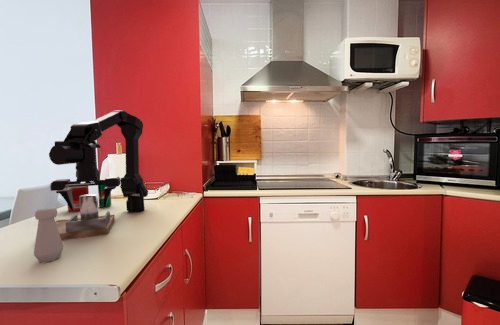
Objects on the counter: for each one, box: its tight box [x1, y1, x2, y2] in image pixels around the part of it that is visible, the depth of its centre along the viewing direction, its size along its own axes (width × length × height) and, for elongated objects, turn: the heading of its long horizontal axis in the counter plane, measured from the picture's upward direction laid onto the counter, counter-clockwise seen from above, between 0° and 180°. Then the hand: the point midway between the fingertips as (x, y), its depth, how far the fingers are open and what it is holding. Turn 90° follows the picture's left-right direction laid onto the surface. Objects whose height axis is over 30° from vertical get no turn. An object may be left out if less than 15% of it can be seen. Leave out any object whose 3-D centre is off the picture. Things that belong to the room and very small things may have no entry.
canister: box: [79, 193, 100, 220], centre depth 83 cm, size 5×5×10 cm
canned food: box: [67, 186, 90, 213], centre depth 110 cm, size 8×8×11 cm
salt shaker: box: [33, 207, 64, 263], centre depth 63 cm, size 6×6×13 cm
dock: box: [55, 210, 116, 241], centre depth 84 cm, size 18×16×5 cm
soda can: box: [97, 185, 112, 208], centre depth 116 cm, size 5×5×12 cm
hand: (89, 208), depth 83 cm, fingers open, 9 cm apart
